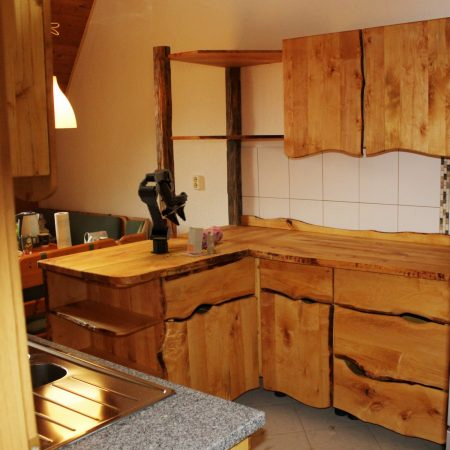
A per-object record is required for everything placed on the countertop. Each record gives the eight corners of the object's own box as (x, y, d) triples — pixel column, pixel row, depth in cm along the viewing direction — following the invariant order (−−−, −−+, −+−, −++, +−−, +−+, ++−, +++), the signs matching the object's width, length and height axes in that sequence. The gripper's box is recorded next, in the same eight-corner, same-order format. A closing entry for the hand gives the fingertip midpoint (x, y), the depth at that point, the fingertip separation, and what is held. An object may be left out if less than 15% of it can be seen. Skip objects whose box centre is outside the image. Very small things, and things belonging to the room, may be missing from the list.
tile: (193, 257, 274) (193, 256, 274) (180, 255, 281) (180, 253, 281) (208, 254, 280) (208, 253, 280) (195, 252, 287) (195, 250, 287)
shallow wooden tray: (207, 254, 281) (206, 234, 280) (208, 249, 292) (207, 231, 291) (213, 254, 281) (212, 234, 280) (213, 249, 292) (213, 231, 291)
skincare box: (186, 251, 282) (189, 226, 281) (194, 252, 284) (197, 226, 283) (193, 253, 277) (195, 227, 276) (201, 253, 279) (203, 227, 278)
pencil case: (206, 250, 292) (206, 232, 291) (189, 249, 296) (188, 231, 294) (224, 243, 312) (223, 226, 310) (207, 242, 315) (207, 225, 314)
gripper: (173, 191, 280) (189, 220, 282) (186, 183, 298) (201, 211, 299) (153, 201, 284) (170, 230, 286) (168, 193, 302) (183, 221, 303)
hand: (182, 223), depth 293 cm, fingers open, 9 cm apart
